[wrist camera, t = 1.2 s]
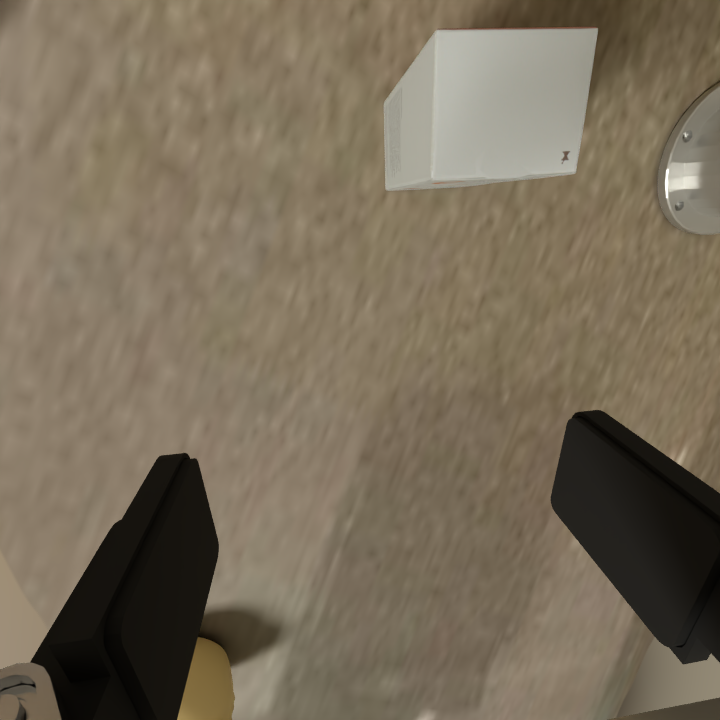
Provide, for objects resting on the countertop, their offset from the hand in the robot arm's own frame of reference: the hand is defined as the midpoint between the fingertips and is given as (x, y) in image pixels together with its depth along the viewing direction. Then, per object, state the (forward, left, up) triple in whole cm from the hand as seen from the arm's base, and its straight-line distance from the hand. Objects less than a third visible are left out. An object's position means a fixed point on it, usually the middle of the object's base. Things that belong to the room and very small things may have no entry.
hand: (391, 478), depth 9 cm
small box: (-13, -2, -26) cm, 29 cm away
